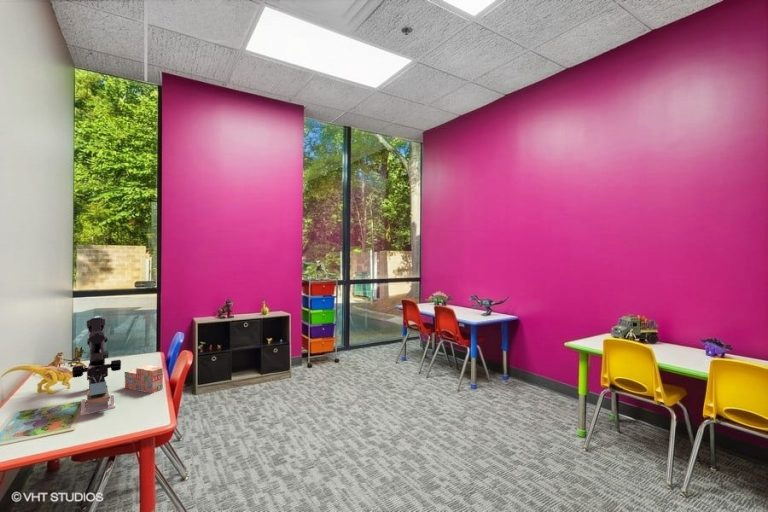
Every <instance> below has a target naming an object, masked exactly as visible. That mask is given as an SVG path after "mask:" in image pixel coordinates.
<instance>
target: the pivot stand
mask: <svg viewBox="0 0 768 512" xmlns="http://www.w3.org/2000/svg"><path fill="white" fill-rule="evenodd" d="M114 395H115V393H110V394H109V396H110V403H108V408H107V409H103V410H98V411H93V412H89V407H86V399H85V398H83V399H81V409H80V416H83V415H88V414H93V413H98V412H99V413H100V412H103V411H107V410H112V409H116V403H115V401H114V400H115V396H114Z"/></svg>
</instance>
